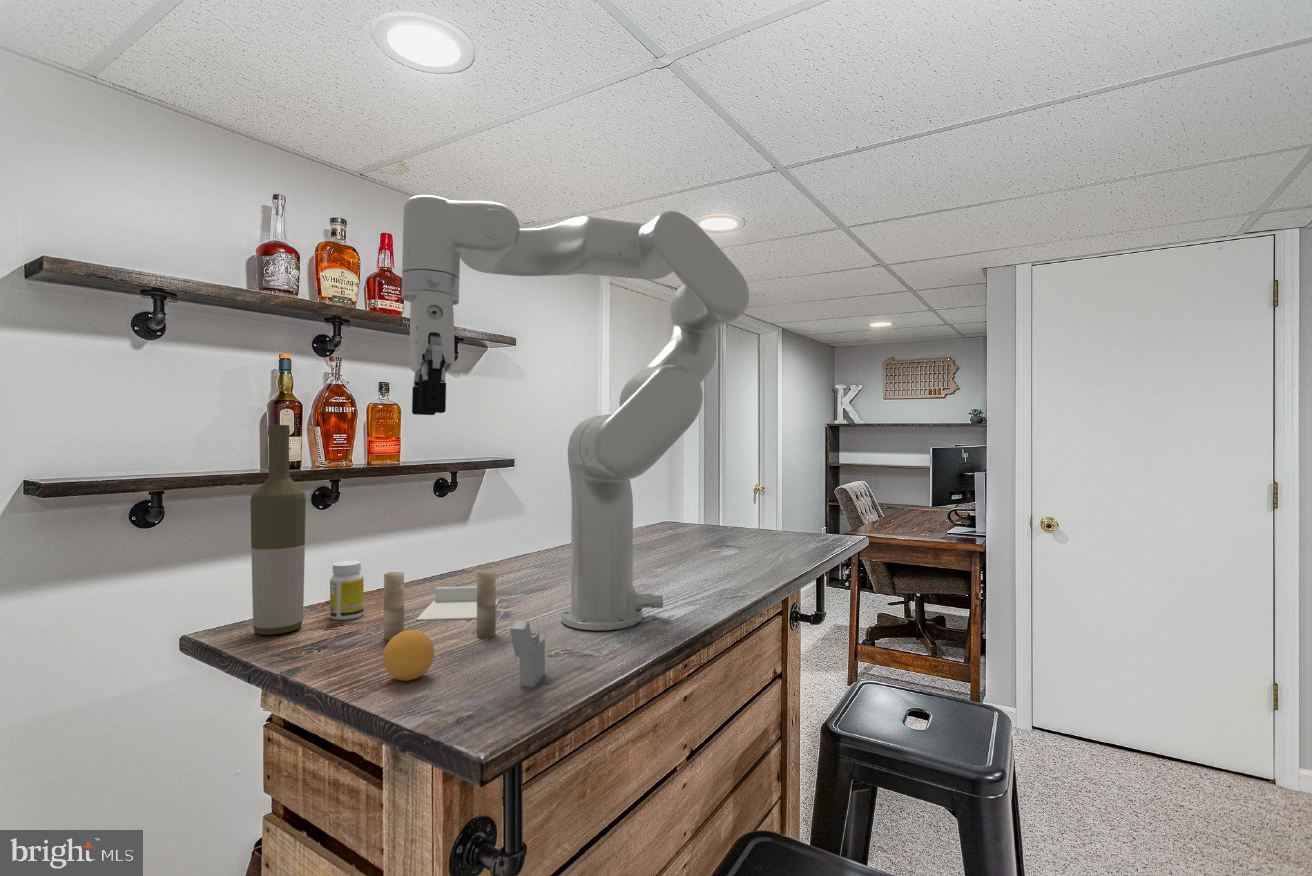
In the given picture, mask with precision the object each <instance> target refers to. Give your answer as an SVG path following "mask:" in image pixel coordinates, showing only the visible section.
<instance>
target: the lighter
mask: <svg viewBox="0 0 1312 876" xmlns="http://www.w3.org/2000/svg"><path fill="white" fill-rule="evenodd" d="M530 626H531V625H530V621H528V620H517V619H516V620H514V621H513V623H512V625H511V627H510V629H509V632H510V636H511V637H510V638H511V641H512V647H513V650H514V652H513V653H514V656H515V657H516V658H519V686H520V687H531V688H533V687H535V686H536V685H537V684H538V683H539V682H540V680H541V679H542V678H543V677H544V676H545V674H546V671H545V670H546V668H545V667H546V664H545V663H546V661H545V660H546V654H545V653H546V647H545V645H546V642H545V641H546V639H545V637H540V632H536V631H535V632H532V631H531V627H530Z"/></svg>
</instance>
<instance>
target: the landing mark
mask: <svg viewBox="0 0 1312 876" xmlns="http://www.w3.org/2000/svg"><path fill="white" fill-rule="evenodd" d="M499 602H500V599H499V598H498V599H497V598H496V606H497V605H498V603H499ZM415 619H416V621H432V620H433V621H436V620H437V621H438V620H439V621H440V620H472V619H474V620H475V619H476V620H477V601H469V602H435V600H433V601H432V602H431V603H430V604H429V605H428V606H427V607H426V608H425V609H424V610H423V611H422V612H421V613H420V614H419V616H418V617H416V618H415Z"/></svg>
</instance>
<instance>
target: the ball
mask: <svg viewBox="0 0 1312 876" xmlns="http://www.w3.org/2000/svg"><path fill="white" fill-rule="evenodd" d="M434 658H435V646H434V644H433V642H432V639H431V638H430V637H429V635H427V634H426V633H424V632H422V631H420V630H415V629H408V630H404V631H403V632H401V633H399V634H397V635H395V636H394V637H393V638H392V639H391V640H390V641H387V644H386V645H385V648H384V651H383V655H382V661H383V666H384V668H385V670H386V672H387V674H389V675H390V676H391V677H392V678H394V679H396V680H398V681H406V682H408V681H413V680H416V679H418V678H420V677H422V676H423V675H424V674H425V673H427V671H428V670H429V669H430V668H431V666H432V664H433V662H434Z"/></svg>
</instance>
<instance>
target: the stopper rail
mask: <svg viewBox="0 0 1312 876" xmlns="http://www.w3.org/2000/svg"><path fill="white" fill-rule="evenodd" d="M434 601H435V602H469V601H477V585H473V586H471V585H470V586H469V585H468V586H437V587H435V589H434Z"/></svg>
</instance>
